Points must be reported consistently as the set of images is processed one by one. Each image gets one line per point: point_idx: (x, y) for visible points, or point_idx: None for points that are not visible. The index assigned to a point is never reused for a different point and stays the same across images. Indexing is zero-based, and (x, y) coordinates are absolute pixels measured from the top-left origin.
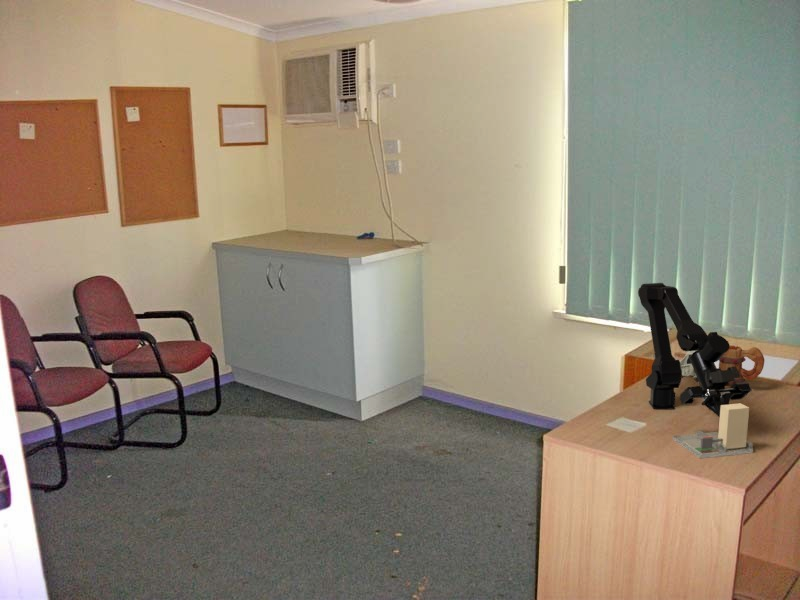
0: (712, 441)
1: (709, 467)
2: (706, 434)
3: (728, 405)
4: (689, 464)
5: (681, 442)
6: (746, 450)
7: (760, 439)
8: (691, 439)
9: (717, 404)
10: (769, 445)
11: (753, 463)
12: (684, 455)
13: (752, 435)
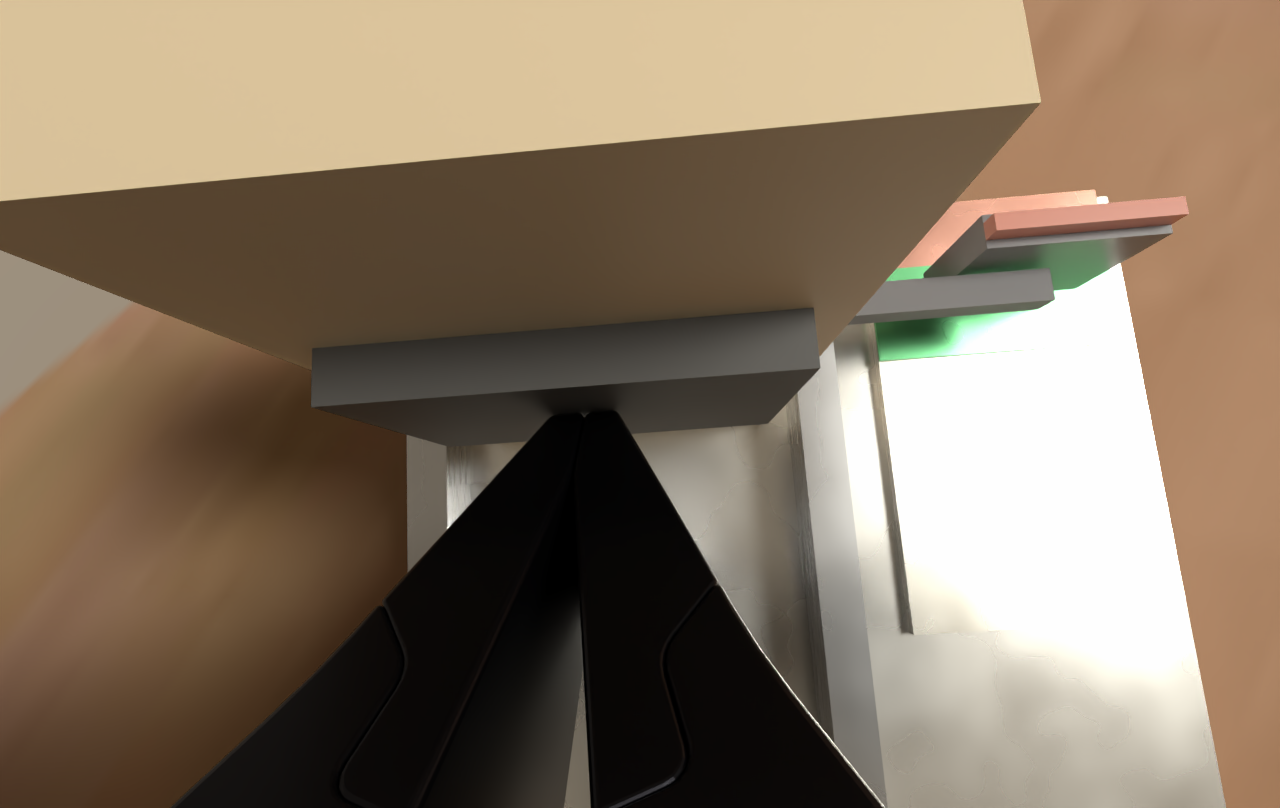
0: (961, 237)
1: (1075, 11)
2: (834, 630)
3: (652, 24)
4: (1261, 97)
5: (1180, 606)
6: None
7: (120, 598)
8: (1013, 660)
9: (806, 735)
10: (145, 422)
11: None
12: (1227, 316)
13: (123, 734)
